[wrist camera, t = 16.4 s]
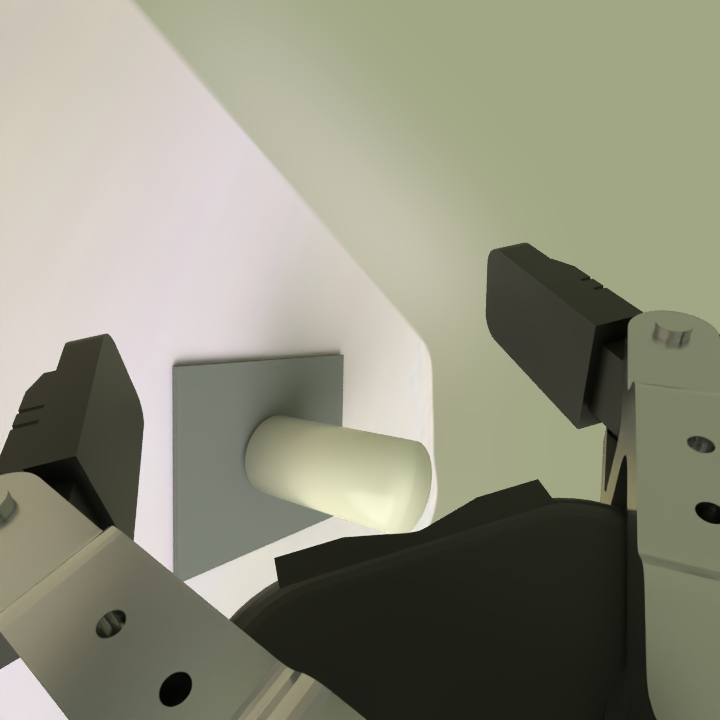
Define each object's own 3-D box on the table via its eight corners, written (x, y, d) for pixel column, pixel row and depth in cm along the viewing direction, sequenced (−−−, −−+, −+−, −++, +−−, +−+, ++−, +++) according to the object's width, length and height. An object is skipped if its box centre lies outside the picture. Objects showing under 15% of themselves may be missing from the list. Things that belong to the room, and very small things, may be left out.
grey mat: (172, 366, 29) (177, 367, 29) (339, 354, 40) (343, 355, 40) (173, 581, 30) (177, 583, 30) (335, 511, 41) (340, 513, 41)
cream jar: (245, 421, 32) (382, 450, 26) (302, 410, 36) (433, 433, 30) (245, 502, 33) (379, 549, 27) (301, 482, 37) (430, 519, 31)
